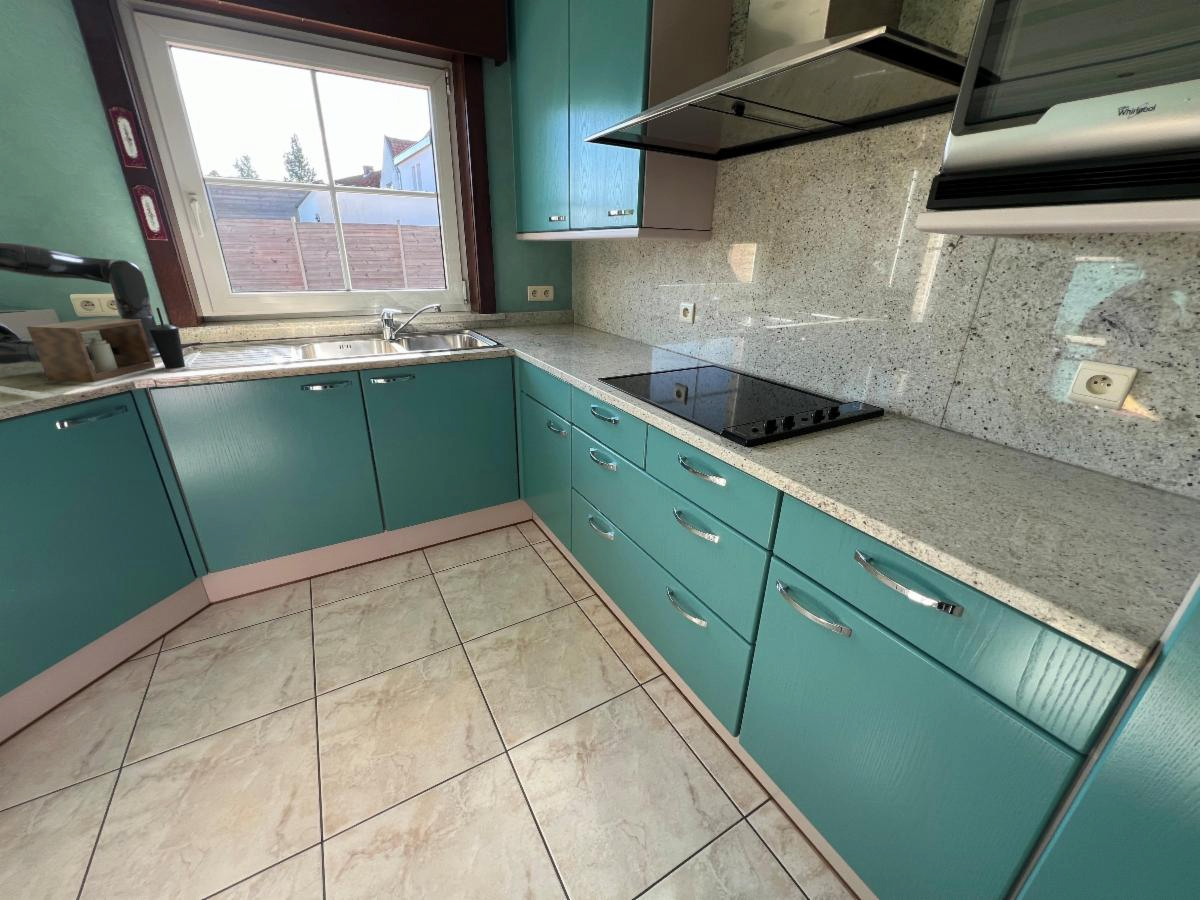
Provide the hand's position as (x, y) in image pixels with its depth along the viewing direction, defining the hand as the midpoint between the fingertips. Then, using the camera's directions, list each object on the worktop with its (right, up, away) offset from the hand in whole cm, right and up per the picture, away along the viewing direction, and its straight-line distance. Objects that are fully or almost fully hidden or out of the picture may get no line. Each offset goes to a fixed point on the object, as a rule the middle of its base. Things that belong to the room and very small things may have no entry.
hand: (106, 353), depth 149 cm
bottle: (-2, -6, +2) cm, 6 cm away
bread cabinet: (-3, -7, +3) cm, 8 cm away
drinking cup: (+10, -3, +13) cm, 17 cm away
